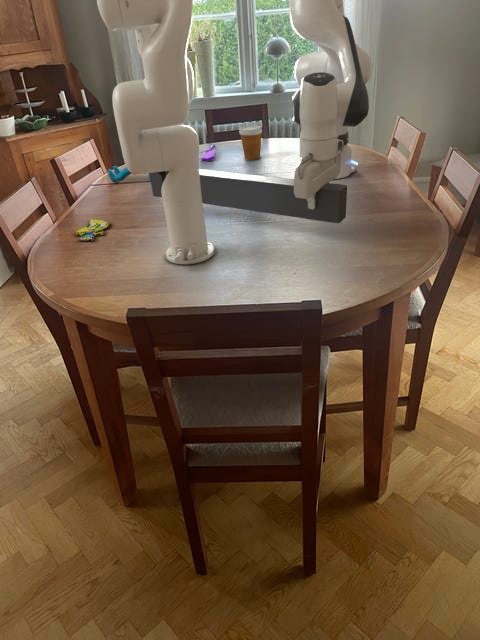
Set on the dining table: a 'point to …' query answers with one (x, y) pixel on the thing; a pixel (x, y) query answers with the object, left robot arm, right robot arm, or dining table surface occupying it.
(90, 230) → the toy
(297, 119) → the right robot arm
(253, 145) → the beer cup
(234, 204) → the beam
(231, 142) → the dining table surface
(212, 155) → the musical instrument
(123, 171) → the toy
